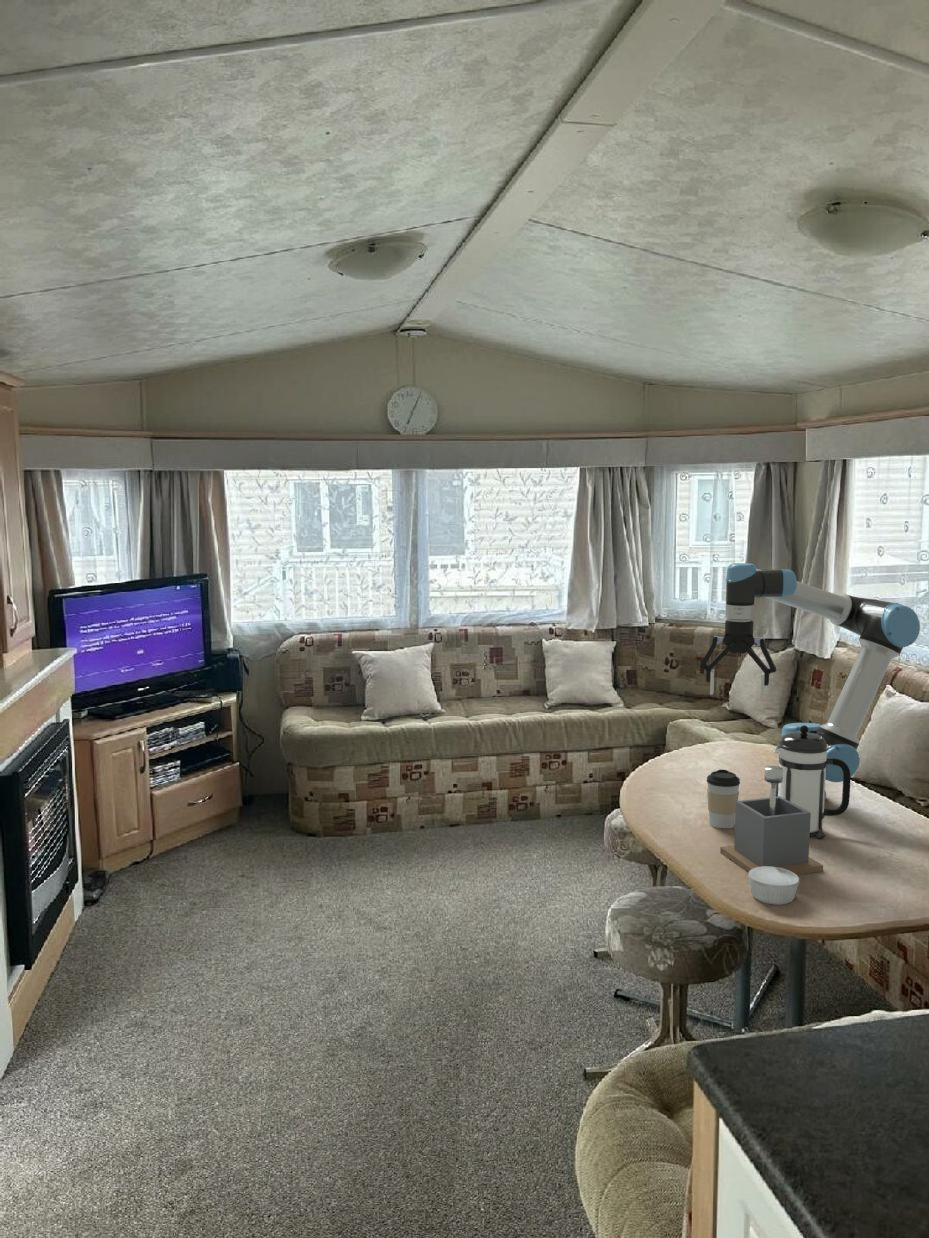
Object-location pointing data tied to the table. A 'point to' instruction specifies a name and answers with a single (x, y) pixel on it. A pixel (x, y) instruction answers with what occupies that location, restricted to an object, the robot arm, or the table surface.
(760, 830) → the square grey bin
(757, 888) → the ramekin
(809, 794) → the coffee press
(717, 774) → the coffee cup
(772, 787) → the plunger
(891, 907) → the table surface
